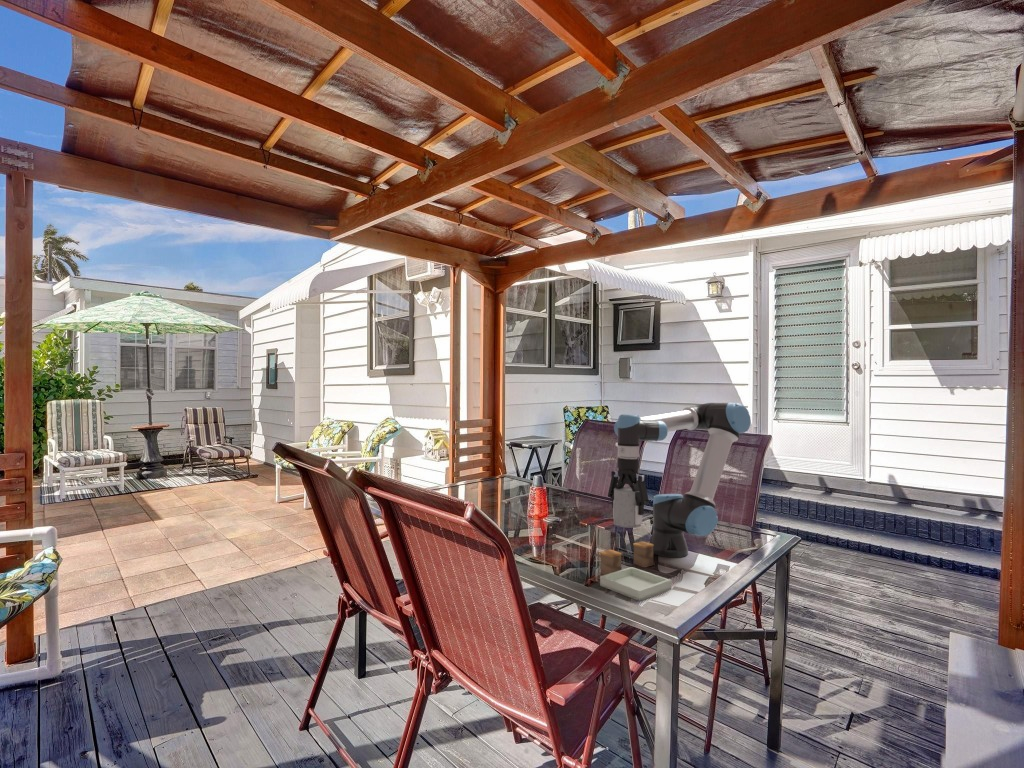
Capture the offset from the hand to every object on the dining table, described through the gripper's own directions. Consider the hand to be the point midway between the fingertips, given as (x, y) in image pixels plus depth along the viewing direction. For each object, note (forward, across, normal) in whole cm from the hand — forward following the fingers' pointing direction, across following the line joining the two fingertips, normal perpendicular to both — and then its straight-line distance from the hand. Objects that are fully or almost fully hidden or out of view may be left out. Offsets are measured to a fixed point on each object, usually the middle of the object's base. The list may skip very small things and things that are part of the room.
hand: (627, 521), depth 177 cm
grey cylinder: (+1, 0, 0) cm, 1 cm away
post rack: (+18, -2, +3) cm, 19 cm away
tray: (+18, +11, -8) cm, 23 cm away
